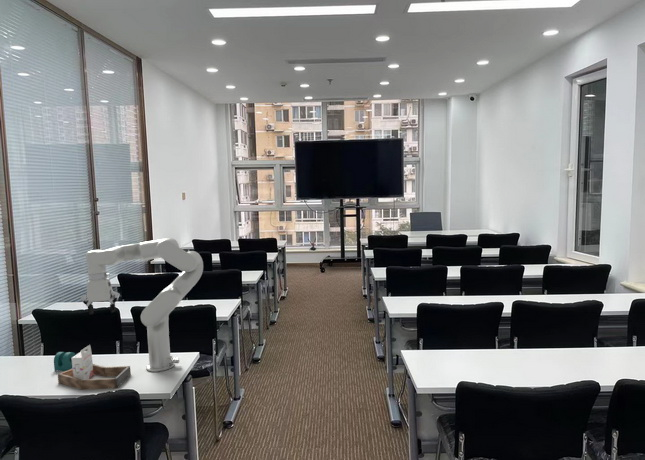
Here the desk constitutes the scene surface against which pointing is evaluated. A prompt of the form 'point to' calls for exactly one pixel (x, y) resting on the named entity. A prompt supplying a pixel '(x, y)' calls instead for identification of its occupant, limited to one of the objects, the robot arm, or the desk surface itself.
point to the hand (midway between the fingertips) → (102, 313)
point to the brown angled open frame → (120, 372)
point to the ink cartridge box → (83, 364)
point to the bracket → (63, 361)
